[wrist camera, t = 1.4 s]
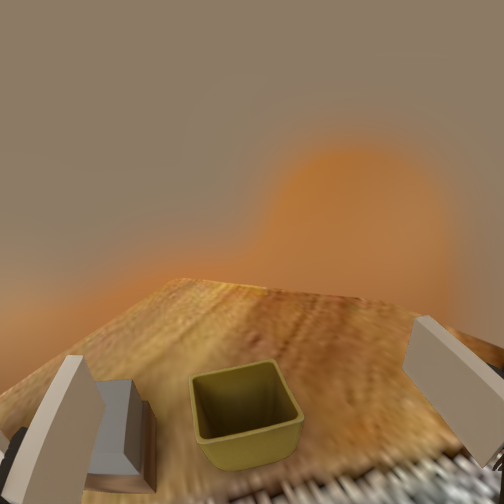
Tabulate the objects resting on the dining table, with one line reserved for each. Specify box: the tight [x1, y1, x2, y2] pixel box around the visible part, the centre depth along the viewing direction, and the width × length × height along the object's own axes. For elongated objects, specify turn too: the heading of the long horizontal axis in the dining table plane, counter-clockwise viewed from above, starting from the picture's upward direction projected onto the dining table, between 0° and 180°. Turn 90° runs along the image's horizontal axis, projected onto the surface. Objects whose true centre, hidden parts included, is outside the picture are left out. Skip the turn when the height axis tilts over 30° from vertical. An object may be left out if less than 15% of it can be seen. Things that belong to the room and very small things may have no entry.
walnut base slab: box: [84, 401, 156, 494], centre depth 24 cm, size 11×11×4 cm
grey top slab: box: [88, 379, 143, 475], centre depth 23 cm, size 10×10×4 cm
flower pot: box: [188, 359, 305, 471], centre depth 25 cm, size 9×9×9 cm
